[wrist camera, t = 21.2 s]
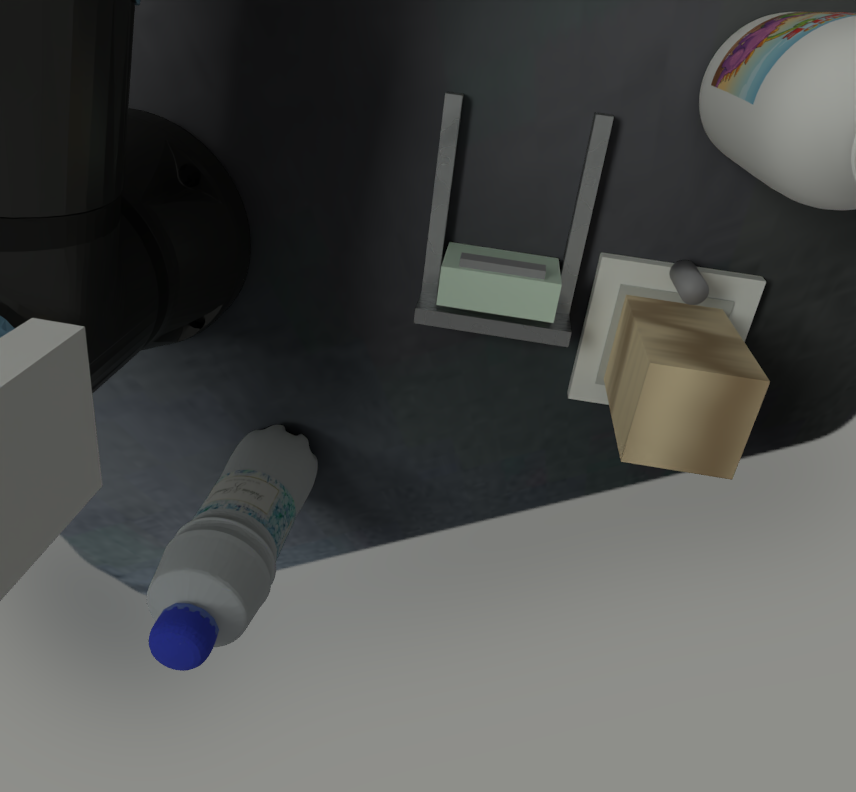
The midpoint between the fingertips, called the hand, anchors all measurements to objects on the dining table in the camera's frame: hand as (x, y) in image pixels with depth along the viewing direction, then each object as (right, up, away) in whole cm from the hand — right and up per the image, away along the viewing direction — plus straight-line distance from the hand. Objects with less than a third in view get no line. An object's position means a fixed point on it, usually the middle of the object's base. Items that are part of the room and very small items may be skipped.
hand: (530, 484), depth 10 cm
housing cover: (+3, +9, +36) cm, 38 cm away
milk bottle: (+17, +18, +30) cm, 39 cm away
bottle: (-13, -3, +45) cm, 47 cm away
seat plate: (+14, +5, +37) cm, 40 cm away
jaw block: (+14, +5, +36) cm, 39 cm away
